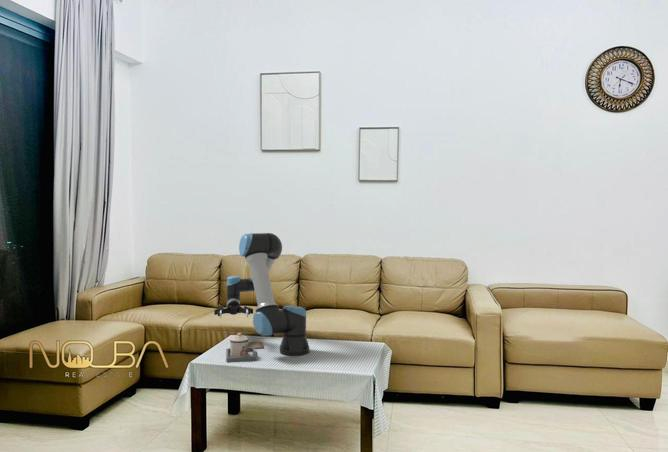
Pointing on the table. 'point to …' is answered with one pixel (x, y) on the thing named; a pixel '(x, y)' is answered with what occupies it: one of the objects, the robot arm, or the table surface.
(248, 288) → the robot arm
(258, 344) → the walnut coaster
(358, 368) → the table surface
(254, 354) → the holder tray
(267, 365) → the table surface
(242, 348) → the teacup with lid
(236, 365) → the table surface
